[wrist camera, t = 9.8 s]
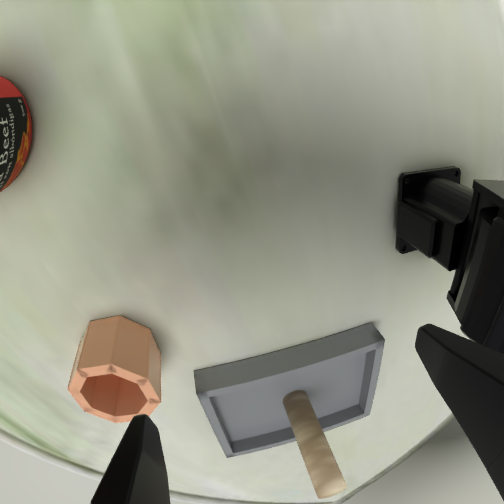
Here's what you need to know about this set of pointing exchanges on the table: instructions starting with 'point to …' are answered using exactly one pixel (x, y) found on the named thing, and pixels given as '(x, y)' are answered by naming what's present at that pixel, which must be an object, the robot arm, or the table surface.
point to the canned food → (13, 132)
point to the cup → (117, 370)
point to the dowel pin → (313, 445)
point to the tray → (291, 389)
